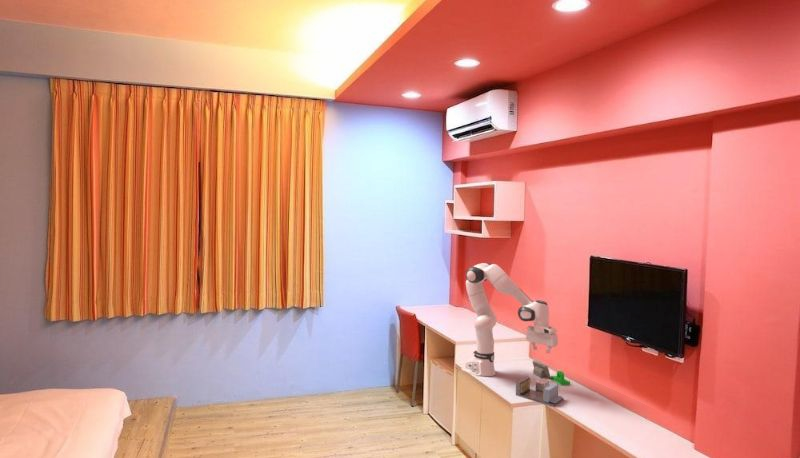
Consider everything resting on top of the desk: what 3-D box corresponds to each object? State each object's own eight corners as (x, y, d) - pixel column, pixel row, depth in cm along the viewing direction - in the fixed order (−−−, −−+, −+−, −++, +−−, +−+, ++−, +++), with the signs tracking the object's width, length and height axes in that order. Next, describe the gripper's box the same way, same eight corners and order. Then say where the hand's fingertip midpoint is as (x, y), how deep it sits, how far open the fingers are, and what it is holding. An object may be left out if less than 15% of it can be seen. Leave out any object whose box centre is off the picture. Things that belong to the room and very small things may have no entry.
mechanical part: (569, 384, 305) (570, 372, 305) (561, 385, 304) (561, 372, 304) (558, 378, 317) (559, 366, 317) (550, 379, 315) (551, 366, 315)
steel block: (535, 392, 292) (535, 382, 291) (541, 388, 298) (541, 378, 297) (543, 394, 288) (543, 384, 288) (549, 390, 294) (549, 380, 294)
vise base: (515, 395, 285) (516, 381, 284) (526, 389, 294) (526, 376, 294) (553, 406, 270) (554, 391, 269) (563, 400, 279) (563, 385, 279)
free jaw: (542, 400, 274) (543, 388, 274) (552, 394, 283) (552, 382, 283) (554, 404, 270) (554, 391, 269) (563, 397, 279) (563, 385, 279)
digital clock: (551, 379, 314) (551, 365, 314) (540, 380, 313) (540, 366, 312) (540, 372, 328) (541, 359, 328) (530, 373, 326) (530, 359, 326)
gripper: (523, 326, 299) (523, 348, 299) (552, 331, 283) (552, 355, 283) (530, 324, 303) (530, 346, 303) (559, 330, 287) (559, 353, 287)
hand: (541, 351), depth 293 cm, fingers open, 8 cm apart
